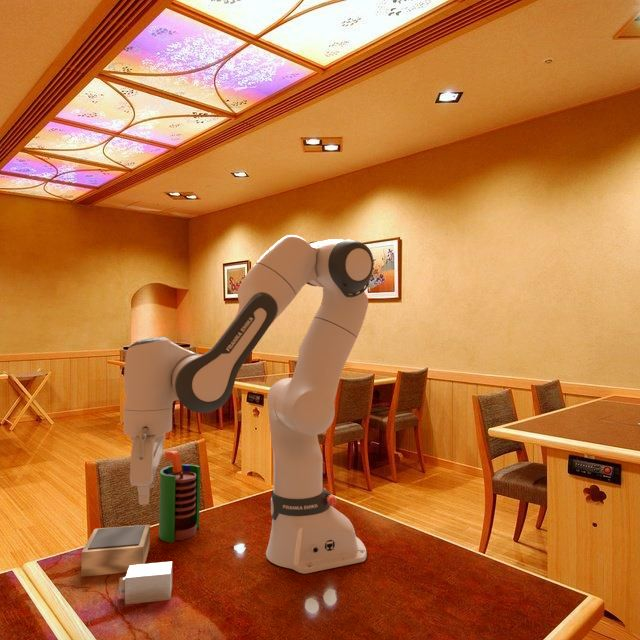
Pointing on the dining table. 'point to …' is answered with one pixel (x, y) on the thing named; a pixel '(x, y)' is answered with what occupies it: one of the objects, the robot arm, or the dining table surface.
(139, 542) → the stand
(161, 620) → the dining table surface
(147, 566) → the block
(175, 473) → the motor
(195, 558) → the dining table surface
